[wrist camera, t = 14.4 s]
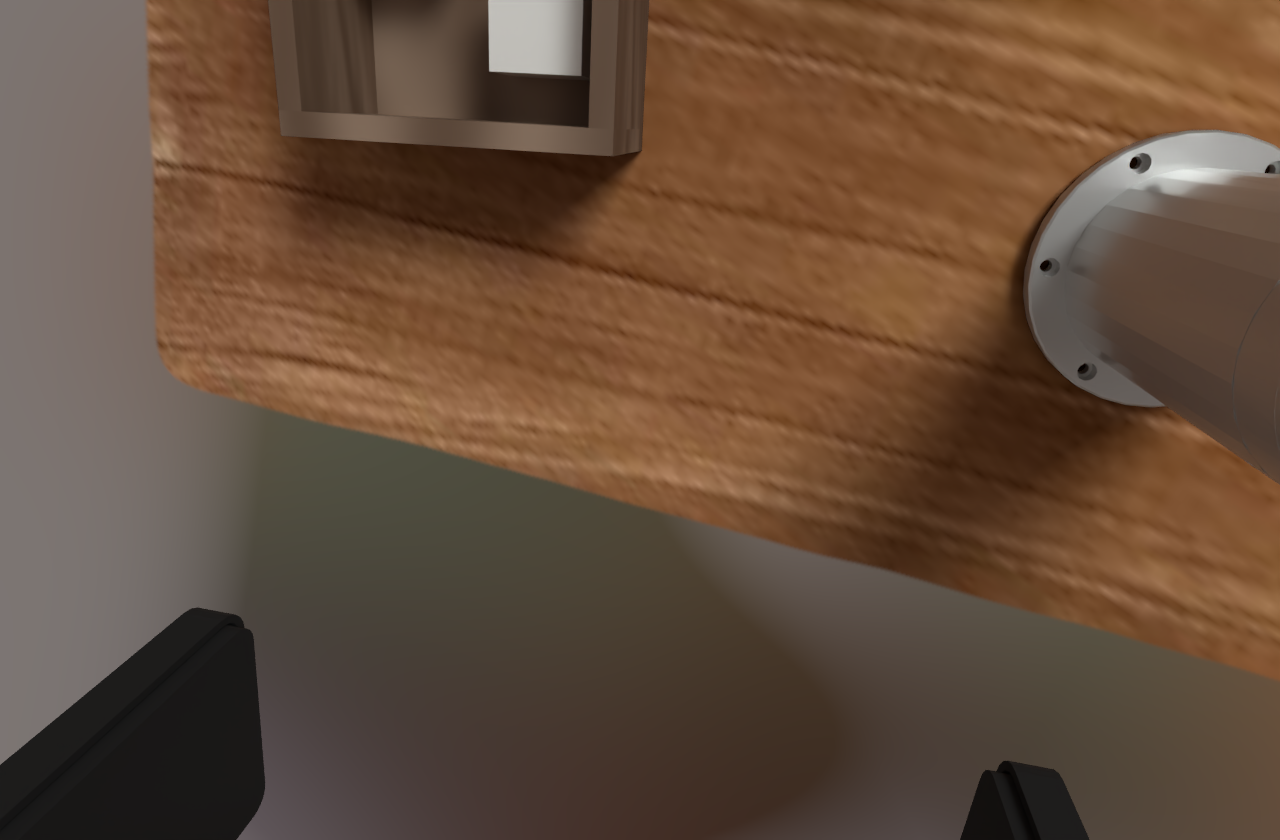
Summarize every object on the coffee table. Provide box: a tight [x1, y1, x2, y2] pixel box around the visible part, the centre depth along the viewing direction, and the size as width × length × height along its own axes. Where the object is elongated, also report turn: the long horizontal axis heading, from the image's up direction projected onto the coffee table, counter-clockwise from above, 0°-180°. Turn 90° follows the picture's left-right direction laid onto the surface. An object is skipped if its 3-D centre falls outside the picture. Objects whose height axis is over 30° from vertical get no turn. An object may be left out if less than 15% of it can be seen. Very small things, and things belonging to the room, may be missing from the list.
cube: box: [488, 0, 592, 81], centre depth 35 cm, size 4×4×4 cm
